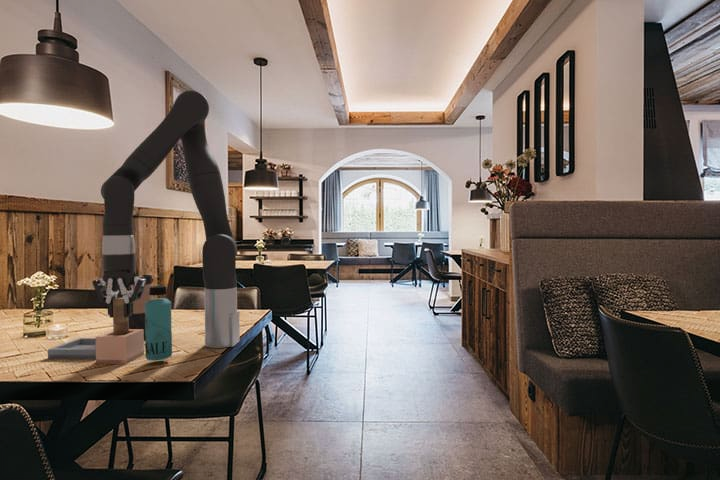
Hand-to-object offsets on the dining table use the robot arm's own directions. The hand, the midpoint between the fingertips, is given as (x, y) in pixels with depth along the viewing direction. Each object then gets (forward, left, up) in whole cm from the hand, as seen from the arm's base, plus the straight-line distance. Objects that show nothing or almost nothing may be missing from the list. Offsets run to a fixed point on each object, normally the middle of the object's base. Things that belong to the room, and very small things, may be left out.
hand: (120, 316), depth 107 cm
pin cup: (0, 0, -11) cm, 11 cm away
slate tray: (+13, -6, -11) cm, 18 cm away
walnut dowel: (0, 0, -7) cm, 7 cm away
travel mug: (+7, -21, -12) cm, 25 cm away
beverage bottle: (-12, +3, -12) cm, 17 cm away
